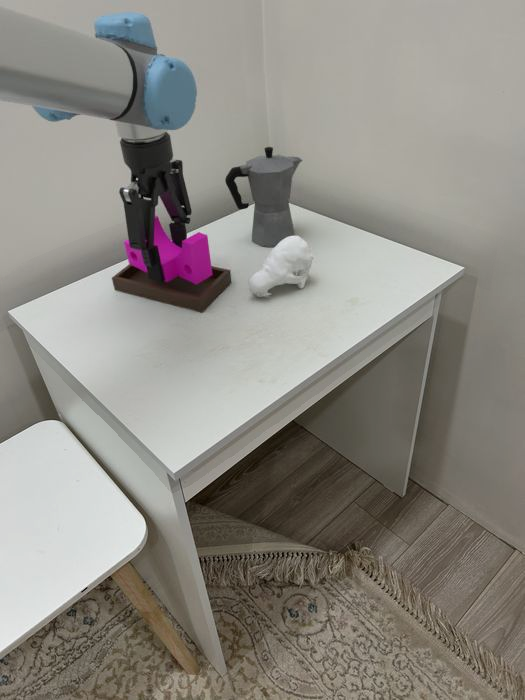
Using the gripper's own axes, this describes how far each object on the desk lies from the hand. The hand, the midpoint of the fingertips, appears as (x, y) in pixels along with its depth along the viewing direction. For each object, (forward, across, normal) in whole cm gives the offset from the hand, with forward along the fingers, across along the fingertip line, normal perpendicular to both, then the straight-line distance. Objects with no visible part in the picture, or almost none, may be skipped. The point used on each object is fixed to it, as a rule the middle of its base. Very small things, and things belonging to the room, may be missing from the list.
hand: (169, 268), depth 96 cm
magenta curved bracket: (0, 0, 0) cm, 0 cm away
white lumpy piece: (+4, +6, -18) cm, 20 cm away
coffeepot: (+4, +22, -8) cm, 24 cm away
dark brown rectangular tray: (+4, 0, 0) cm, 4 cm away
